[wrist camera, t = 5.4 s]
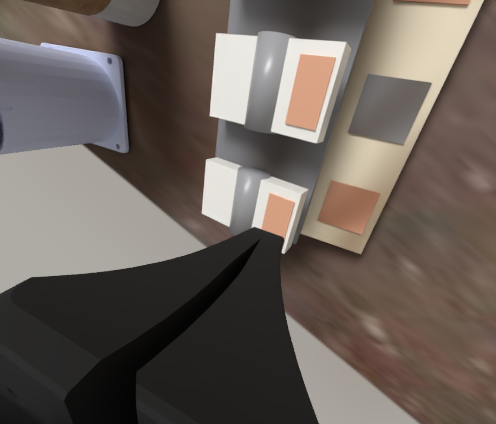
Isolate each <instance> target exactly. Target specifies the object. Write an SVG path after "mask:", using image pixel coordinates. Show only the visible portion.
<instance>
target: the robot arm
mask: <svg viewBox="0 0 496 424" xmlns="http://www.w3.org/2000/svg"><path fill="white" fill-rule="evenodd" d="M111 60H112V62H111ZM86 143H92V144H95V145H99V146H102V147H105V148H108V149H111V150H115V151H118V152H121V153H127V152H128V151H129V143H128V129H127V116H126V102H125V89H124V75H123V63H122V60H121V58H120V57H119V56H118V55H113V54H107V53H101V52H95V51H89V50H83V49H77V48H71V47H65V46H59V45H53V44H47V43H41V45H40V46H37V45H32V44H27V43H22V42H17V41H12V40H7V39H2V38H0V154H8V153H15V152H23V151H31V150H39V149H47V148H55V147H62V146H70V145H78V144H86ZM119 146H120V147H119ZM284 242H285V240H284V238H283V237H282V236H279V235H276V234H273V233H271V232H268V231H265V230H262V229H259V228H256V227H253V228H251V229H248V230H246V231H244V232H242V233H240V234H238V235H236V236H234V237H231V238H229V239H227V240H225V241H222V242H220V243H218V244H215V245H213V246H210V247H207V248H205V249H202V250H200V251H197V252H194V253H191V254H188V255H185V256H181V257H177V258H174V259H170V260H166V261H162V262H157V263H152V264H147V265H143V266H138V267H133V268H126V269H120V270H113V271H105V272H97V273H88V274H77V275H61V276H48V277H31V278H29V279H27V280H26V281H23V282H21V283H20V284H18V285H16V286H14V287H12V288H10V289H8V290H6V291H4V292H3V293H1V294H0V424H319V423H318V420H317V418H316V415H315V412H314V410H313V407H312V404H311V401H310V399H309V396H308V393H307V390H306V388H305V384H304V381H303V378H302V375H301V372H300V369H299V366H298V362H297V359H296V355H295V352H294V348H293V345H292V341H291V337H290V333H289V330H288V325H287V320H286V316H285V310H284V304H283V298H282V290H281V277H280V258H281V252H282V249H283V245H284Z"/></svg>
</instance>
